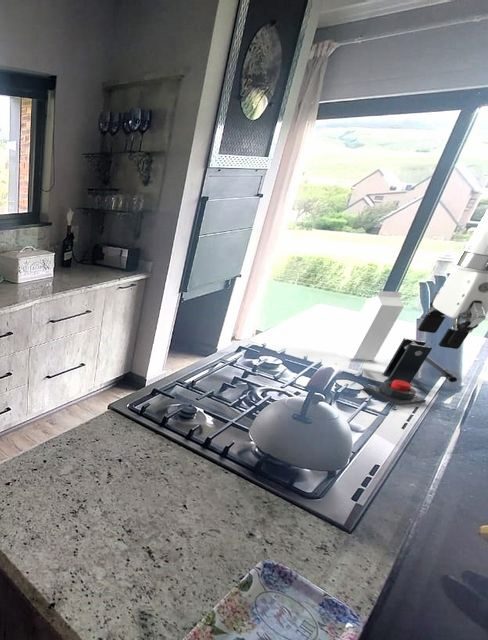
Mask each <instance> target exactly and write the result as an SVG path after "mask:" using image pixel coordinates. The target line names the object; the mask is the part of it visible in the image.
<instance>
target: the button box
mask: <svg viewBox="0 0 488 640" xmlns="http://www.w3.org/2000/svg"><path fill="white" fill-rule="evenodd" d="M391 384H392V382H391V381H387V380H386V381H384V382H383V383H382V385H374V386H372V385H371V386H366V388H365V390H366V391H368V392H369V393H372V394H373V395H375V396H376V397H379V398H381V399H384V400H385V401H387V402H389V403H391V404H393V405H395V406H398V407H399V406H407V405H409V406H410V405H415V404H416V405H417V404H424V403H426V402H427V399H425V398H423V397H421V396H418V395H416V394H417V391H416V390H415V389H414V388H413V387H412V386H411V387H410V388H409V390H408V391H407V392H406V391H400V390H397V389H395V388H393V387H391ZM390 409H392V410H393V411H398V409H397V408H392V407H391V408H390Z"/></svg>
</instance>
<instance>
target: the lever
mask: <svg viewBox="0 0 488 640" xmlns="http://www.w3.org/2000/svg"><path fill="white" fill-rule="evenodd" d="M410 344H416V343H415V342H412V343H410ZM408 345H409V344H408ZM408 345H407V346H405V347H404V348H405V349H406V348H407V347H408ZM416 345H417V344H416ZM424 362H427V364H429V365H430V366H431V367H433V368H434V369H435V370H437V372H439V373H441V375H442V376H444V377H445V378H446V379H447V381H448V382H451V383H455V382H457V381H458V378H457V376H455V375H454V374H453V373H452V372H451V371H450V370H448V369H445V368H444V367H443V366H441V365H440V364H438V363H437V362H436V361H434V360H433V359H432V358H430V357H429V356H427V357H426V359H425V361H424Z"/></svg>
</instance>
